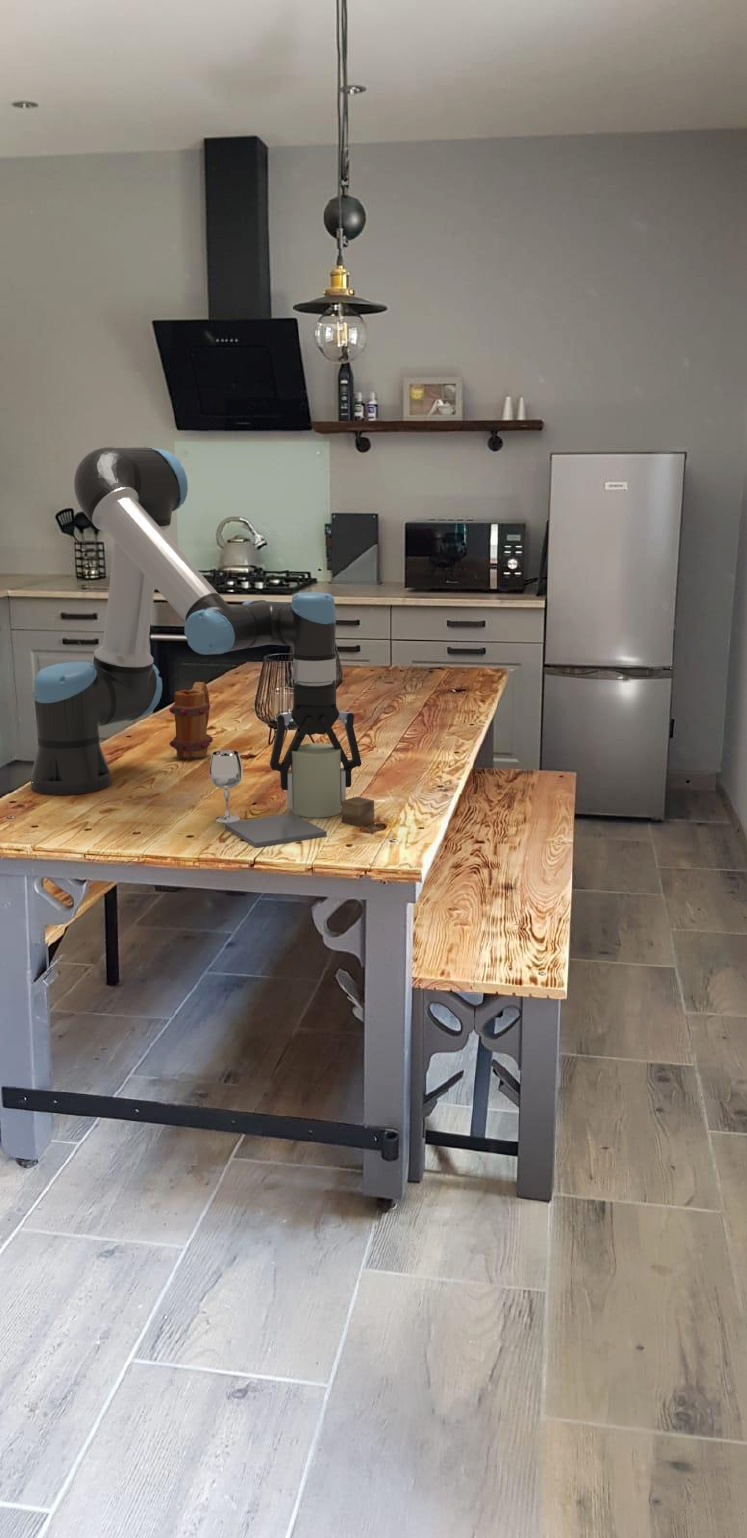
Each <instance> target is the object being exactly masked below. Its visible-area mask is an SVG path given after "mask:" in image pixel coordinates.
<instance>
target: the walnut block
mask: <svg viewBox="0 0 747 1538" xmlns="http://www.w3.org/2000/svg"><path fill="white" fill-rule="evenodd" d="M341 808H342V811H341V823H342V824H345V825H349V826H354V827H356V828H360V827H363V826H366V825H369V824H372V823H375V800H374V799H373V800H372V799H369V798H364V797H361V796H354V797H351V798H347V799H346V800H344V801H342V807H341Z"/></svg>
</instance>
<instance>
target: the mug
mask: <svg viewBox="0 0 747 1538" xmlns="http://www.w3.org/2000/svg"><path fill="white" fill-rule="evenodd" d="M173 698H174V699H173V700H174V703H173V705H172V706H171V707H169V710H168V711H169V712H170V713H171V714H173V715H174V721H175V722H174V724H175V736H174V737H173V739H172V740H171V741H170V742H169V746H170V747H171V748H173V749H175V750H176V756H177V757H178V758H181V759H185V760H195V759H197V760H198V759H200V758H204V757H205V756H207V754H208V750H209V749H208V748H209V747H210V746H211V743H212V742H213V741H214V738H213V737H212V736H210V735H209V734H208V732H207V731H208V730H207V729H208V724H209V720H210V719H209V717H210V708H211V704H210V695H209V690H208V687H207V684H206V683H205V682H204V681H202V682H201V681H195V682H194V683H193V685H192V689H189V690H187V689H181V690H179V691H175V692H174V697H173Z"/></svg>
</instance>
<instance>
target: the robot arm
mask: <svg viewBox="0 0 747 1538" xmlns="http://www.w3.org/2000/svg"><path fill="white" fill-rule="evenodd" d="M73 484H74V485H73V486H74V488H73V489H74V495H75V497H76V500H77V502H78V503H77V504H78V505H79V507H80V509H81V511H82V512H83V514H84V515H85V516H86V517H87V519H88V520H89V521H90V522H91V524H92V525H93V526H94V527H95V528H96V529H97V530H100V531H105V532H107V533H108V535H110V537H111V538H112V539H113V540H114V541H113V547H112V550H113V551H112V558H111V569H110V576H109V577H110V578H109V587H108V598H107V605H106V615H105V622H104V623H105V624H104V634H103V642H102V643H103V644H102V645H100V646H99V647H97V648H96V649H95V650H94V652H93V661H92V662H93V663H92V662H88V661H68V662H66V663H64V662H61V663H56V664H53V665H50V666H46V667H44V668H42V669H40V670H39V671H38V672H37V673H36V675H35V676H34V678H33V679H34V680H33V692H32V693H33V699H34V708H35V709H34V710H35V721H36V722H35V724H36V737H37V751H36V756H35V759H34V763H33V766H32V770H31V774H30V787H31V790H33V791H34V792H37V793H41V794H46V795H54V796H55V795H56V796H57V795H62V796H64V795H80V794H87V793H93V792H96V791H100V790H104V789H106V788H107V787H109V786H111V784H112V775H111V770H110V766H109V765H108V762H107V759H106V757H105V754H104V753H103V750H102V747H101V743H100V727H103V726H107V725H108V726H109V725H112V724H116V723H122V722H127V721H129V722H131V721H134V720H138V719H139V718H141V717H144V716H148V715H149V714H151V712H153V711H154V710H155V709H156V707H157V706H158V704H159V703H160V699H161V698H162V694H163V693H162V692H163V682H162V680H163V679H162V677H160V676H159V675H160V670H159V668H158V667H157V666H156V665H155V664H154V657H153V656H152V654H151V653H150V652H149V651H148V645H149V637H150V636H149V635H150V629H151V628H150V627H151V619H152V612H153V604H154V603H153V602H154V595H155V589H156V590H157V591H158V592H159V593H160V595H161V596H162V597H163V598H164V599H165V600H166V601H167V602H168V604H169V605H170V606H171V607H172V609H174V610H175V612H176V613H177V614H178V615H179V617H181V619H182V620H183V621H184V622H185V624H184V637H186V639H187V644H188V646H189V647H190V648H191V650H193V651H194V652H195V653H197V654H200V655H206V656H207V655H221V654H224V653H225V654H226V653H228V652H233V651H239V650H243V649H250V648H257V647H262V646H267V645H274V646H275V645H276V646H277V645H278V646H287V647H291V648H292V659H293V660H292V670H293V671H292V674H293V675H292V676H293V677H292V678H293V680H294V681H295V683H294V684H293V686H292V687H293V688H292V689H293V693H292V694H293V697H292V698H293V707H292V710H291V711H290V712H288V713H280V712H278V713H277V714H276V715H275V719H276V725H277V726H276V727H277V728H276V731H275V736H274V741H273V746H272V750H271V757H270V759H269V760H270V761H269V766H270V768H271V770H273V771H277V772H279V778H280V779H279V780H280V781H279V782H280V788H281V790H282V791H286V806H287V810H291V809H293V794H292V772H291V763H292V751H298V749H299V747H300V745H301V744H303V741H304V740H305V738H306V736H313V735H326V736H327V737H328V739H329V741H330V744H332V745H333V747H334V748H335V750H339V749H341V757H340V760H341V765H342V766H343V767H341V808H342V801H344V800H347V799H346V795H347V794H346V793H347V791H346V790H347V789H346V788H351V786H352V770H353V769H354V768H356V767H358V768H359V767H361V766H362V760H361V755H360V751H359V745H358V741H357V737H356V734H355V729H354V722H355V721H354V720H355V714H354V713H353V712H352V711H351V710H347V711H341V710H339V709H338V706H337V684H336V683H335V682H334V681H335V680H336V679H337V666H336V665H337V664H336V663H337V661H336V660H337V657H336V632H337V631H336V628H337V627H336V626H337V616H336V605H335V599H334V597H333V595H332V594H330V593H326V592H312V591H311V592H310V591H307V592H297V593H294V594H293V595H292V598H291V603H288V602H280V601H279V602H277V601H269V600H268V601H267V600H264V599H259V600H258V599H257V600H246V601H244V602H243V603H241V605H240V604H239V605H232V606H230V605H229V604H228V602H227V601H226V600H225V599H224V598H223V597H222V596H221V595H220V594H219V593H218V592H217V590H216V589H215V588H214V587H213V586H212V584H211V583H209V581H208V580H207V579H206V578H205V576H204V575H202V573H201V572H200V571H199V570H198V568H196V566H195V565H194V564H193V563H192V562H191V561H190V560H189V558H188V557H186V555H185V554H184V553H183V552H182V550H181V549H180V548H179V547H178V546H177V545H176V544H175V542H174V541H173V540H172V539H171V538H170V537H169V536H168V535H167V533H166V532H165V530H166V529H168V528H170V526H171V522H172V514H173V512H174V511H176V510H178V509H180V507H181V506H182V505H184V503H185V501H186V499H187V496H188V492H189V491H188V489H189V488H188V487H189V485H188V484H189V483H188V477H187V474H186V471H185V469H184V467H183V466H182V465H181V461H180V460H179V459H178V458H177V457H176V456H175V455H174V454H173V453H172V452H170V451H169V450H166V449H161V448H154V447H149V446H147V447H146V446H145V447H113V446H111V447H109V446H108V447H101V448H100V447H99V448H98V449H94V450H93V451H91V452H89V453H88V454H86V456H84V457H83V459H82V460H81V461H80V463H79V464H78V466H77V468H76V470H75V474H74V480H73ZM338 719H340V721H341V723H342V724H343V725H344V730H345V733H346V737H347V740H348V741H347V742H348V746H349V751H350V754H351V759H349V758H348V757H347V755H346V753H345V751H344V749H343V746H342V745H341V743H340V741H339V740H338V737H337V736H336V734H335V731H334V729H333V726H334V725H335V723H336V722H337V721H338ZM291 721H293V723H295V724H296V726H297V728H296V730H295V733H294V736H293V738H292V740H291V742H290V744H289V746H288V748H287V750H286V752H285V755H284V757H283V759H282V761H281V763H280V758H281V753H282V748H283V743H284V739H285V734H286V727H288V726H289V724H290V722H291ZM32 782H33V783H32Z"/></svg>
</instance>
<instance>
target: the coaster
mask: <svg viewBox="0 0 747 1538" xmlns="http://www.w3.org/2000/svg"><path fill="white" fill-rule="evenodd" d="M223 824H224V826H223V827H224V829H225V830H227V831H229V832H230V833H232V834H233V835H235V836H237V837H239V838H240V839H241V840H243V841H245V842H246V843H248V844H249V845H251V846H253V847H254V848H257V849H258V848H261V847H262V848H263V847H268V846H275V845H280V844H281V845H282V844H286V843H291V842H299V841H304V840H310V839H311V840H312V839H315V838H321V837H326V836H327V830H325V829H323V828H321V827H319V826H317V825H316V824H314V823H312V822H310V821H308V820H306V819H305V818H304V817H300V816H297V815H295V814H294V813H292V812H290V813H284V814H283V813H281V814H277V815H276V814H275V815H270V816H269V815H268V816H263V817H256V818H251V819H243V820H239V821H236V822H230V823H223Z"/></svg>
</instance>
